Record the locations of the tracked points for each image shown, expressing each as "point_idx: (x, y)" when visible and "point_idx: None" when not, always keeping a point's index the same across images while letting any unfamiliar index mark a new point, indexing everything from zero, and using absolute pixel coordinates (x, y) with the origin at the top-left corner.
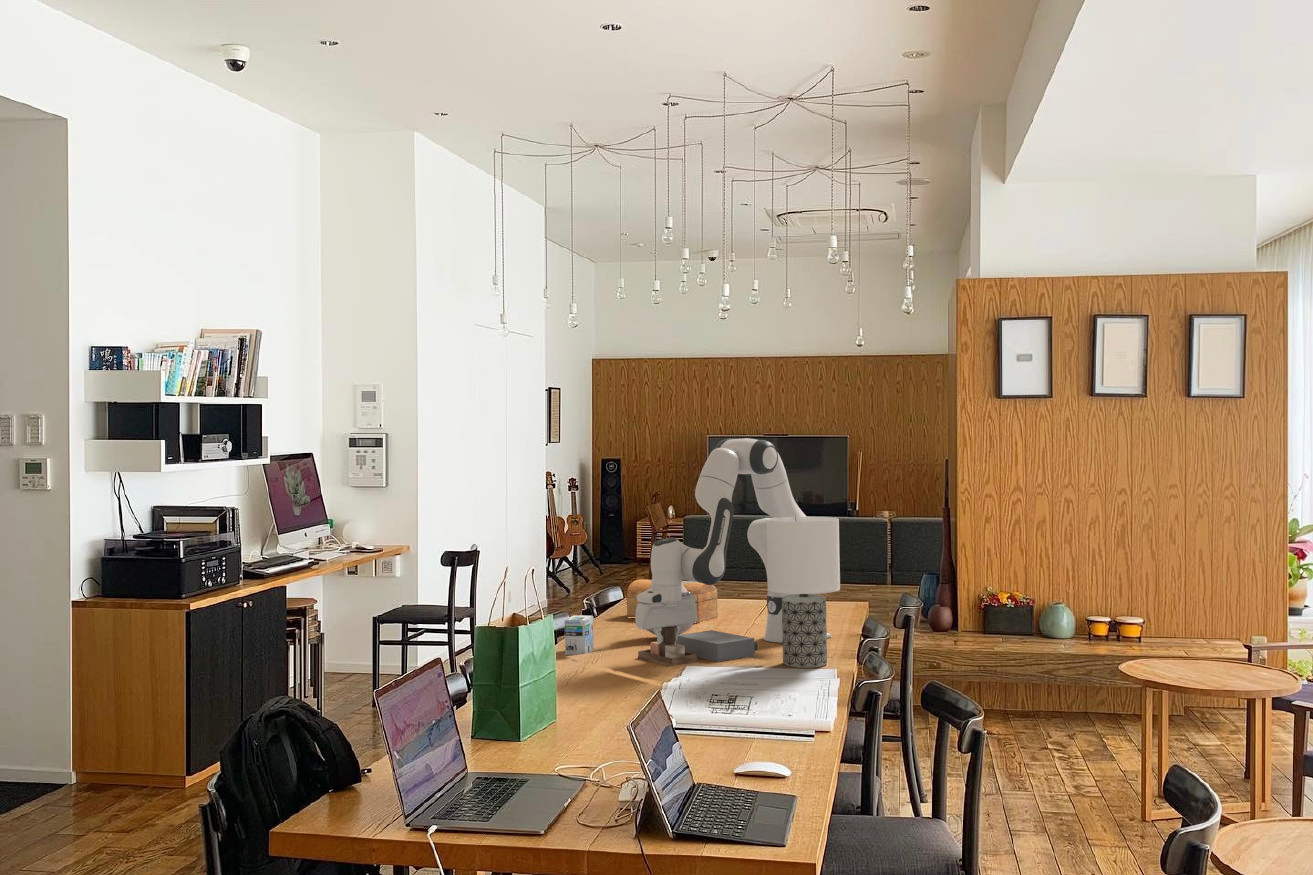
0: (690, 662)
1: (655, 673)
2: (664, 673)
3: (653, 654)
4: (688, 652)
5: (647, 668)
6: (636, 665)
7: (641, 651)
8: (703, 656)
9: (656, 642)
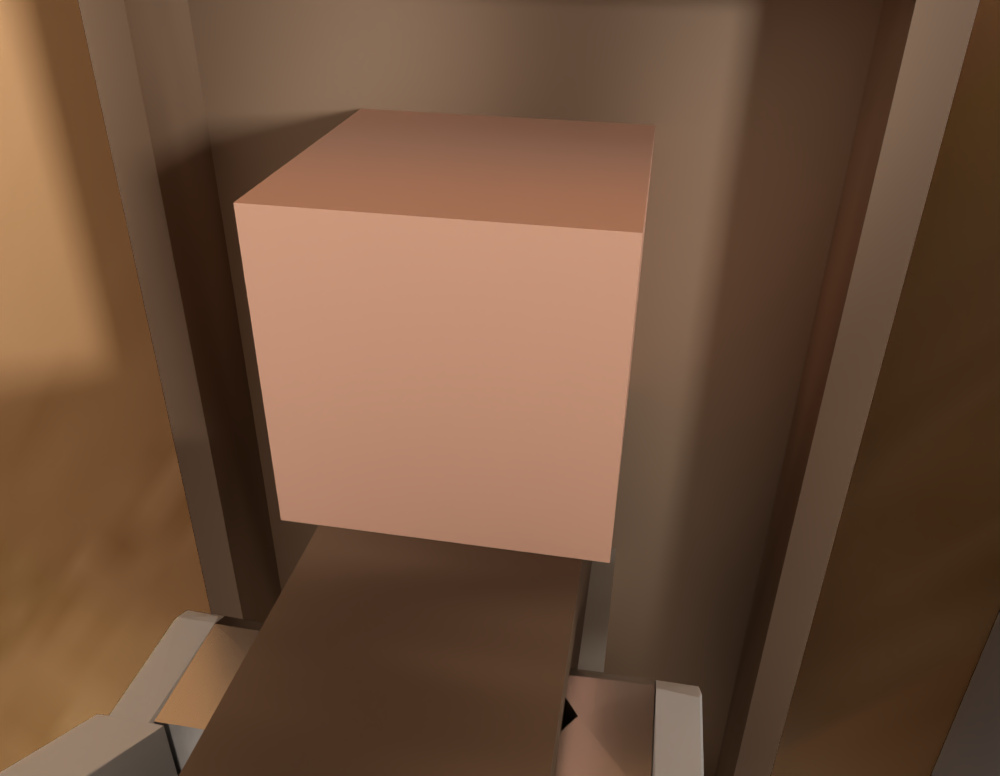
0: None
1: (62, 690)
2: None
3: (193, 453)
4: (764, 731)
5: (86, 476)
6: (23, 220)
7: (119, 34)
8: (986, 756)
9: (373, 326)
